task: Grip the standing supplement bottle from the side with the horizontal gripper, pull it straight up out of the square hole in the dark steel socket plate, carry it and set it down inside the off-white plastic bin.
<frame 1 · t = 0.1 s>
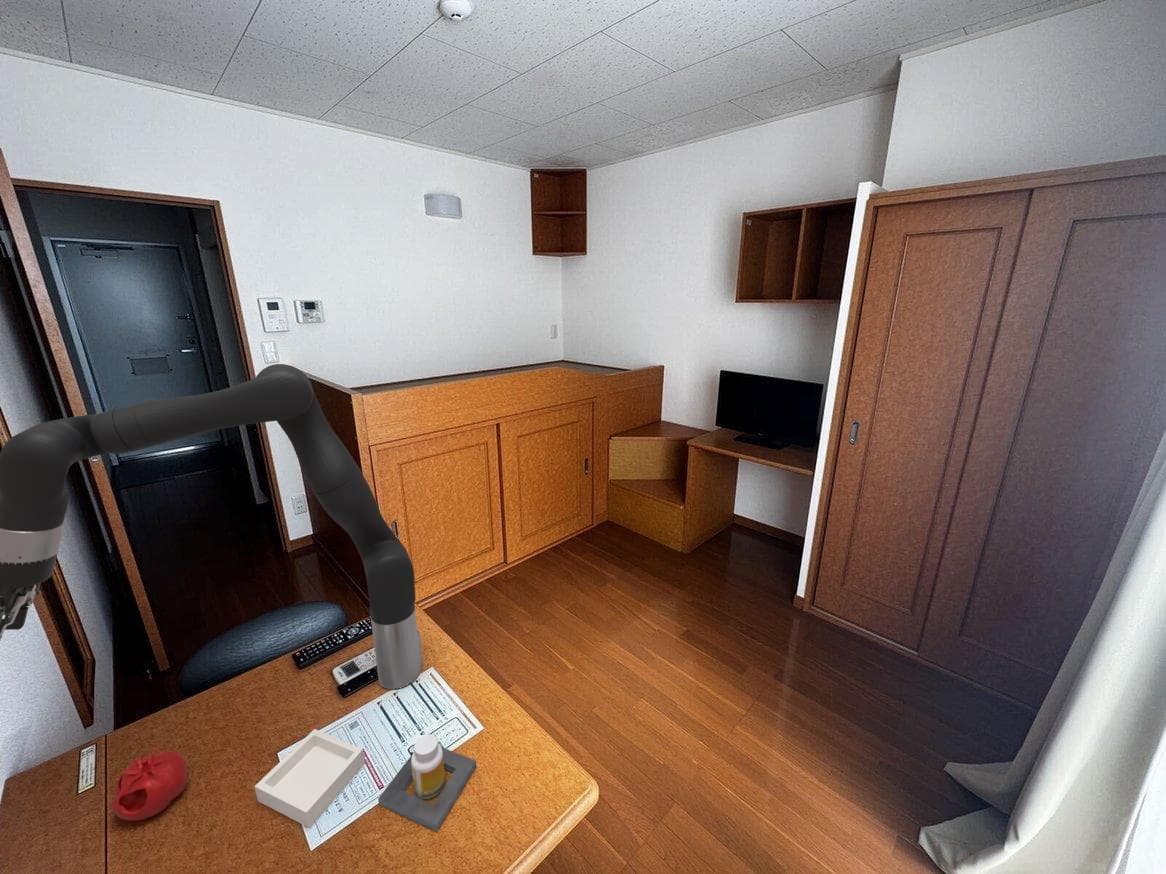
bin: (313, 781, 84), on the table
supplement bottle: (429, 785, 84), resting in socket plate
pomegranate: (155, 799, 81), on the table
socket plate: (429, 785, 84), on the table
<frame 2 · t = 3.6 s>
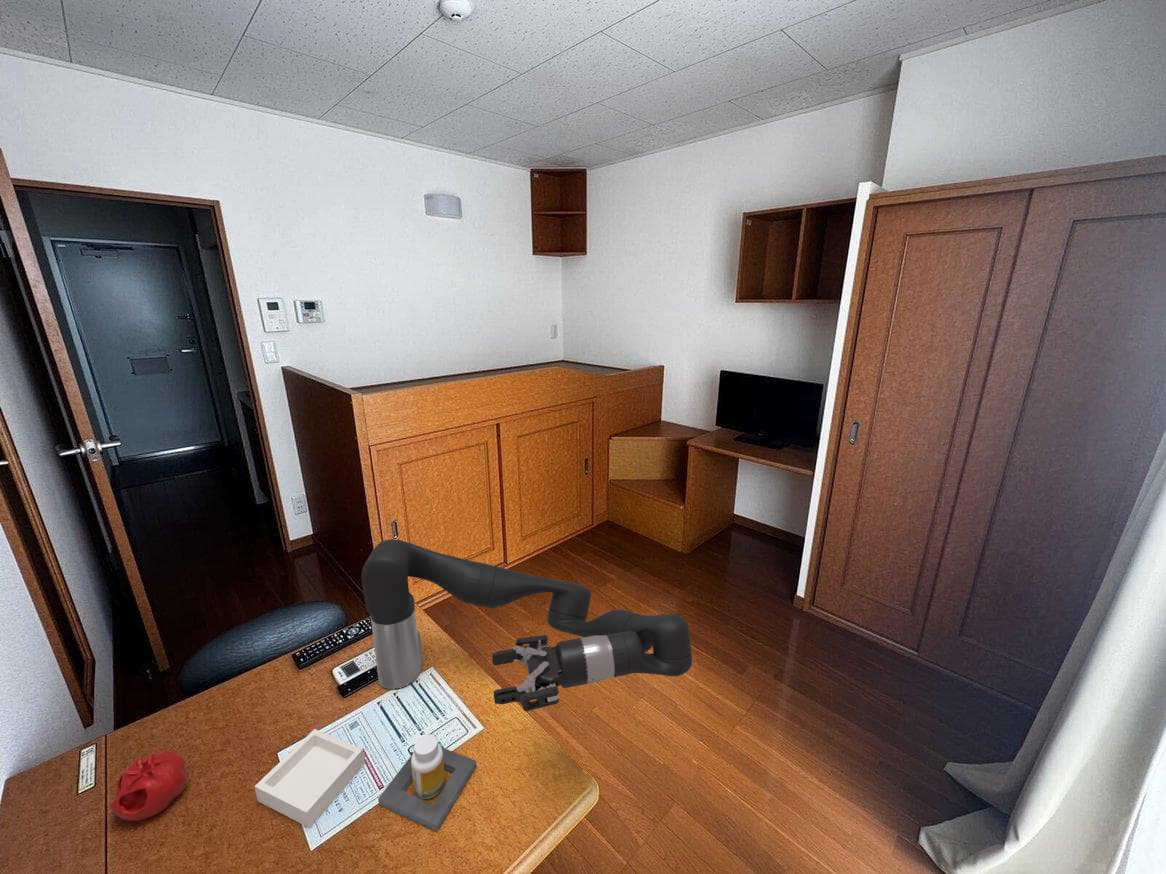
hand: (493, 677, 80), 23 cm above the table, tool horizontal, fingers open, 8 cm apart
nothing on the table moved.
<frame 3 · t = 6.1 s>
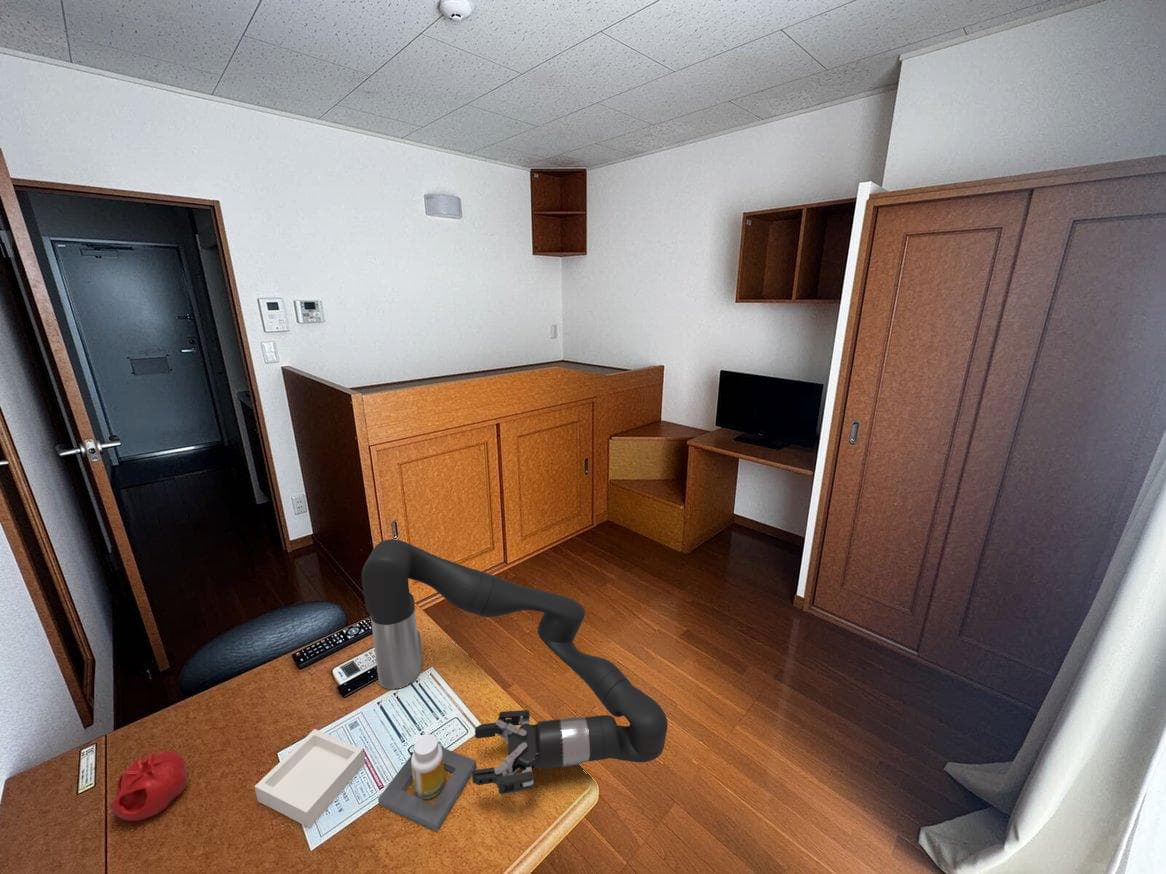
hand: (473, 753, 84), 6 cm above the table, tool horizontal, fingers open, 8 cm apart
nothing on the table moved.
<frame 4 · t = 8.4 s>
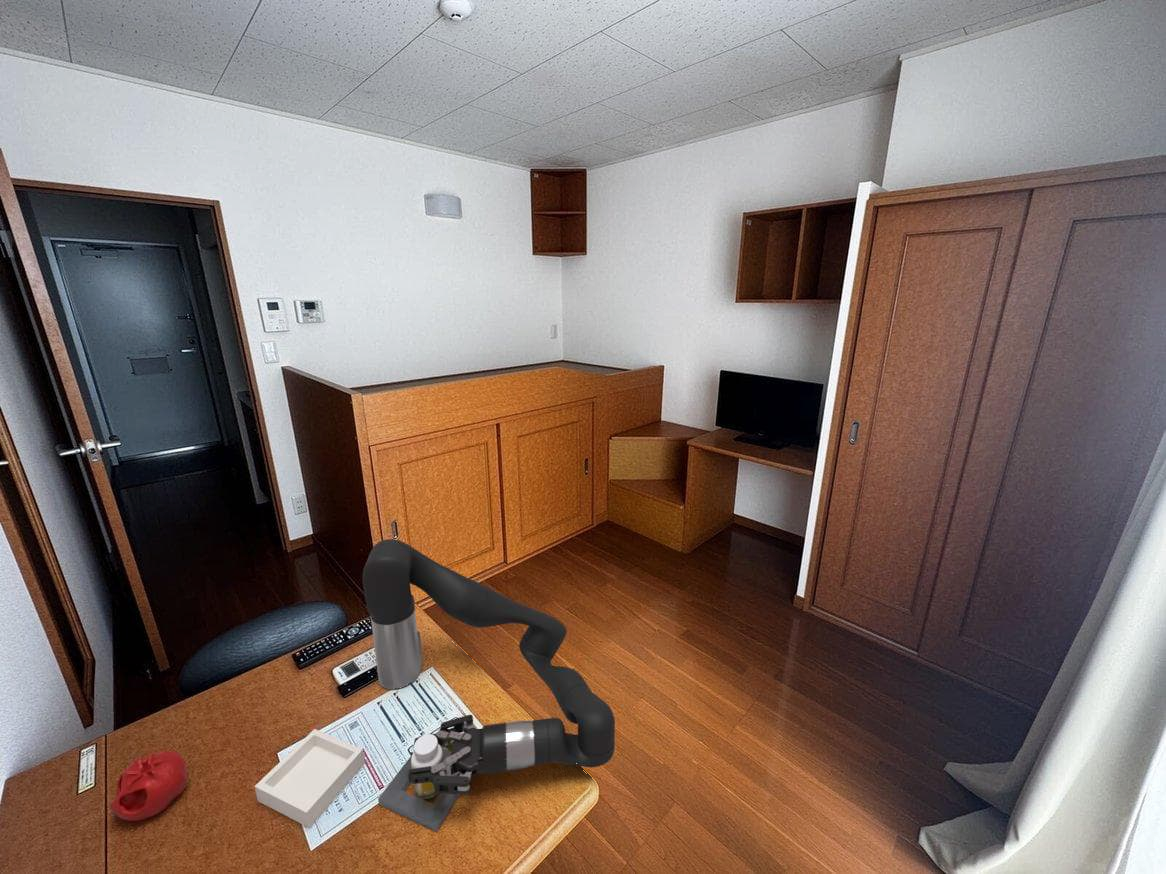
hand: (412, 759, 82), 7 cm above the table, tool horizontal, fingers closed on supplement bottle, 5 cm apart
supplement bottle: (429, 785, 84), resting in socket plate, touching gripper
everything else where it was.
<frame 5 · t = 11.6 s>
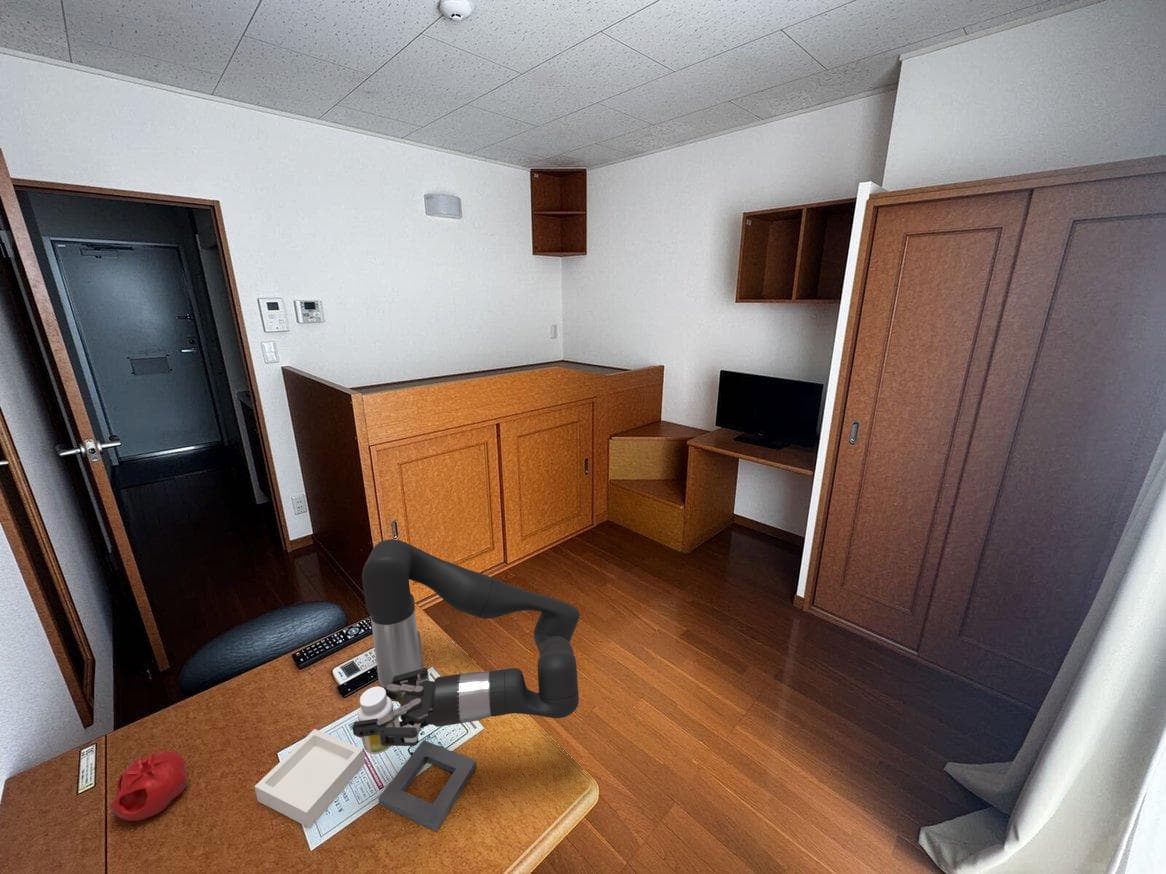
hand: (359, 712, 77), 19 cm above the table, tool horizontal, fingers closed on supplement bottle, 5 cm apart
supplement bottle: (381, 741, 79), point 12 cm above the table, touching gripper
everything else where it was.
when the fingers open (9 cm above the table, at t = 14.9 s): supplement bottle drops 1 cm, resting on bin.
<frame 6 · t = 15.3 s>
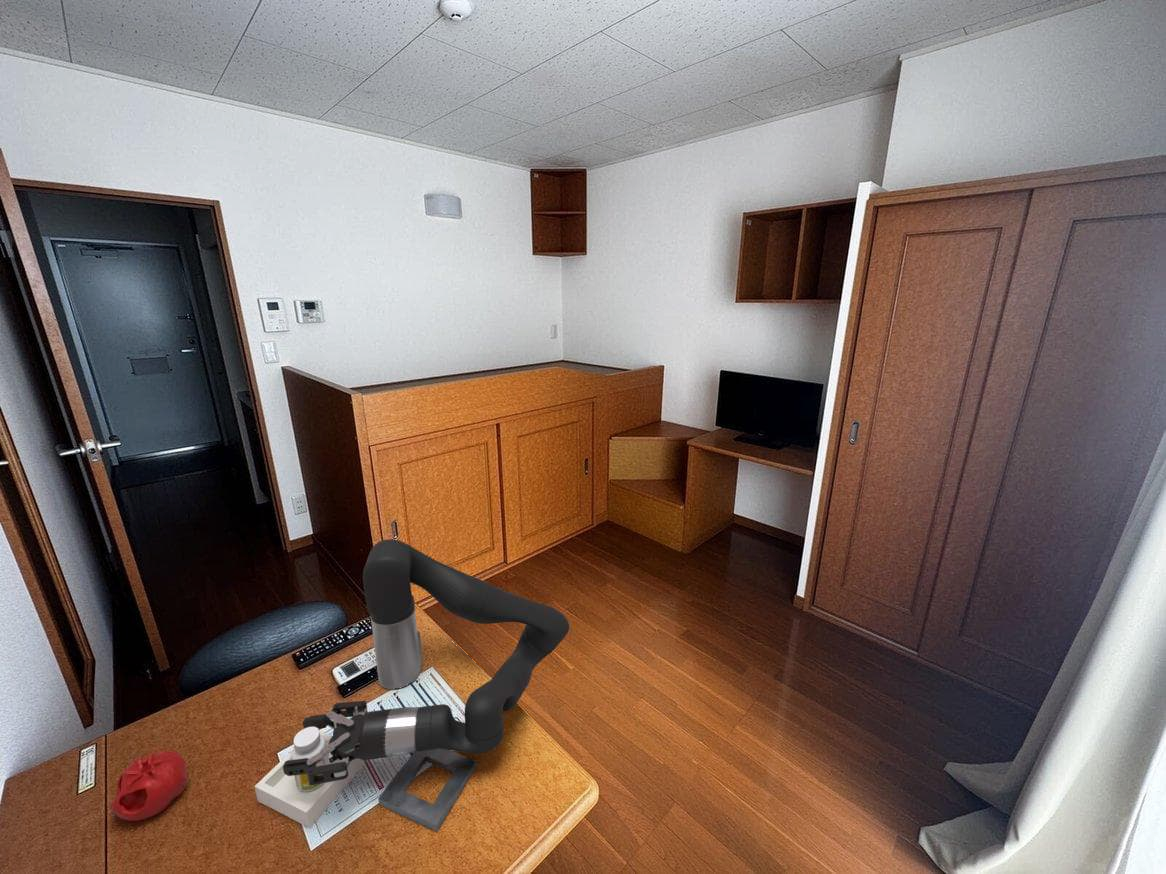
hand: (294, 744, 82), 9 cm above the table, tool horizontal, fingers open, 8 cm apart
supplement bottle: (313, 778, 84), point 1 cm above the table, touching bin
everything else where it was.
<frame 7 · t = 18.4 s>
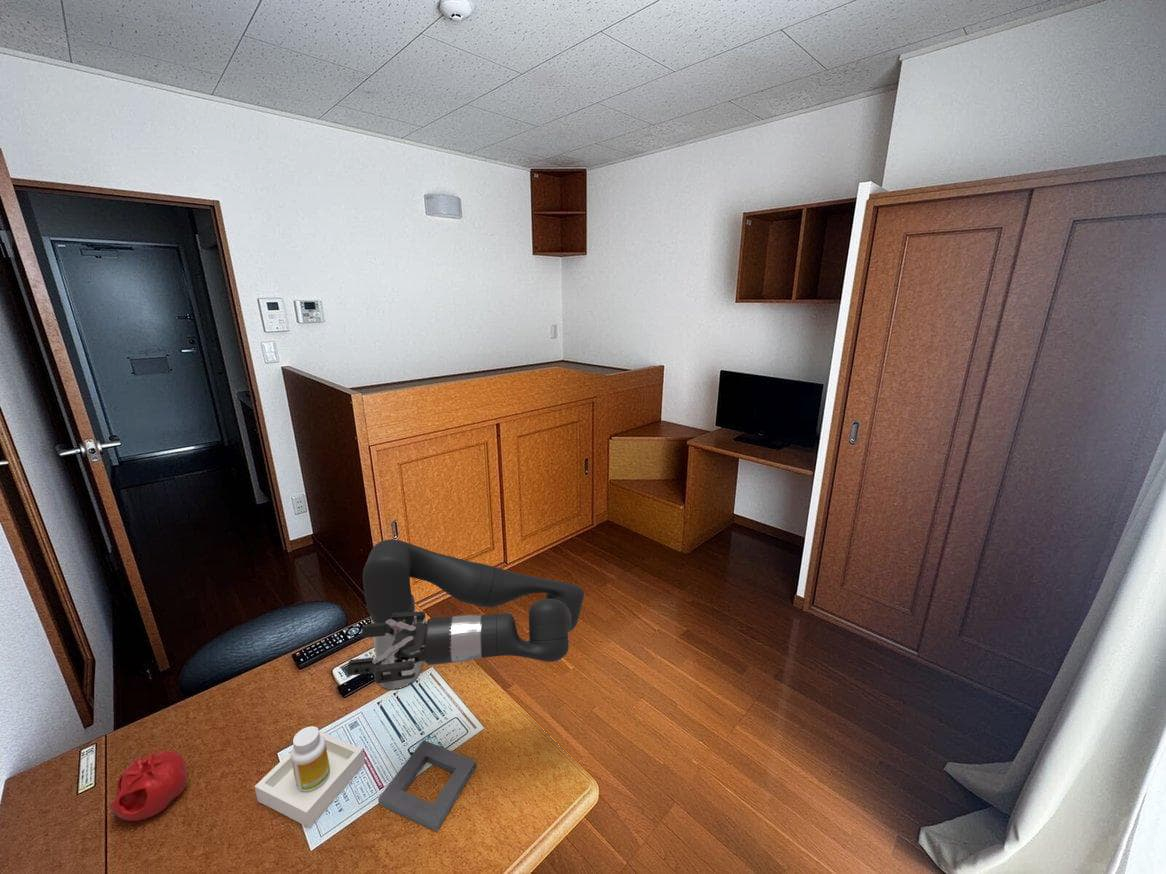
hand: (356, 648, 78), 28 cm above the table, tool horizontal, fingers open, 8 cm apart
nothing on the table moved.
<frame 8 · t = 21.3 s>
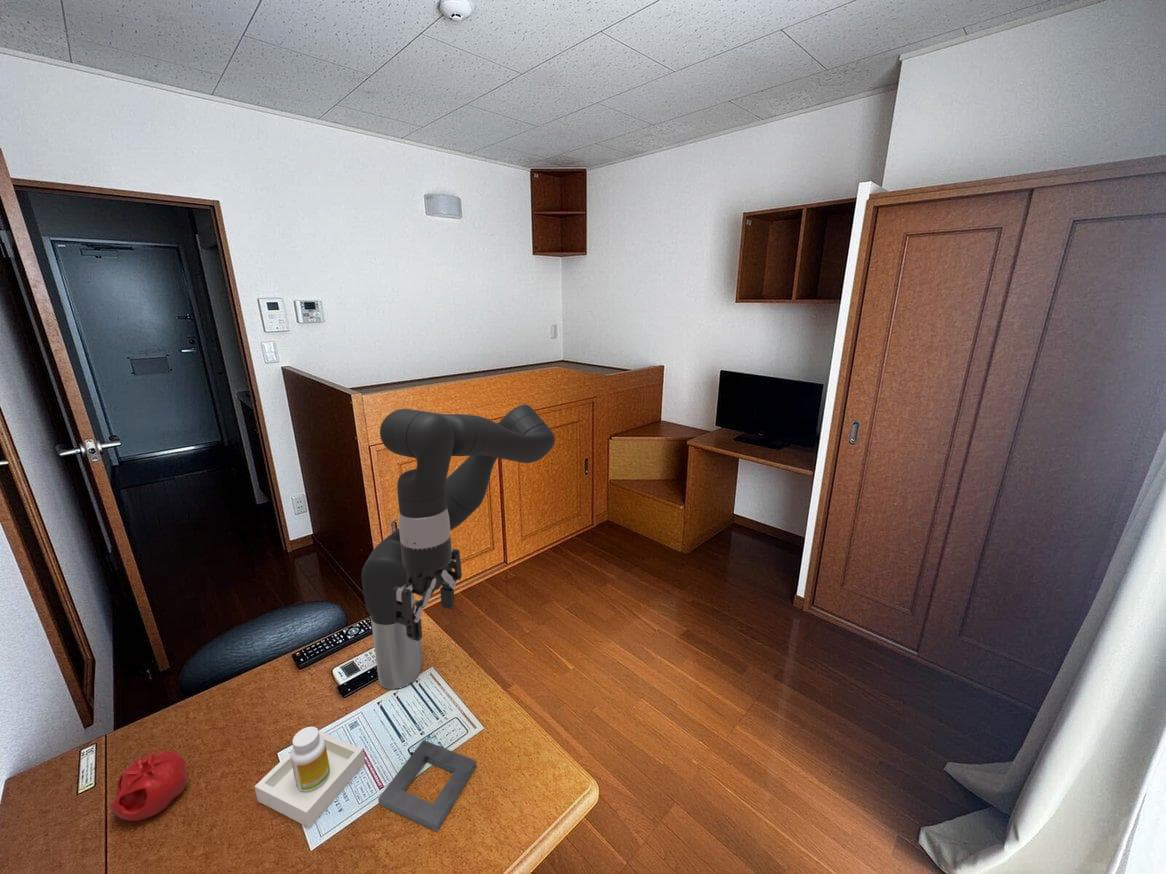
hand: (432, 622, 77), 33 cm above the table, tool pointing down, fingers open, 8 cm apart
nothing on the table moved.
at the end: supplement bottle inside the target area on the bin (0.2 cm from its centre), point 0.8 cm above the bin's base; the gripper is holding nothing; supplement bottle moved 21.0 cm from its start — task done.
